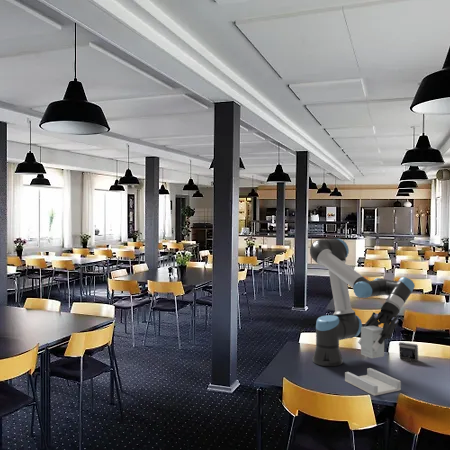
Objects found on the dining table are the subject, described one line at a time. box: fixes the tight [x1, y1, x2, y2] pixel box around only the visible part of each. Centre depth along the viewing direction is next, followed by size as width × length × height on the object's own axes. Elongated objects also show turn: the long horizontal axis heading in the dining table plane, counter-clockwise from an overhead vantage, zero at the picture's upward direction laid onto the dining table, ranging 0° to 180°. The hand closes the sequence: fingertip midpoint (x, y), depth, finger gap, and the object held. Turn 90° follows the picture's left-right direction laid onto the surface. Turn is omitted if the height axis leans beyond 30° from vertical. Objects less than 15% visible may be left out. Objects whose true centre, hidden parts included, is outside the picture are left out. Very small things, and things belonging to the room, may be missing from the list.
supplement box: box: [360, 326, 385, 359], centre depth 205 cm, size 7×7×13 cm
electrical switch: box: [398, 341, 419, 363], centre depth 241 cm, size 9×5×9 cm, turn 57°
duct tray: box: [344, 367, 402, 397], centre depth 206 cm, size 19×15×4 cm
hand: (367, 346), depth 204 cm, fingers closed on supplement box, 7 cm apart
